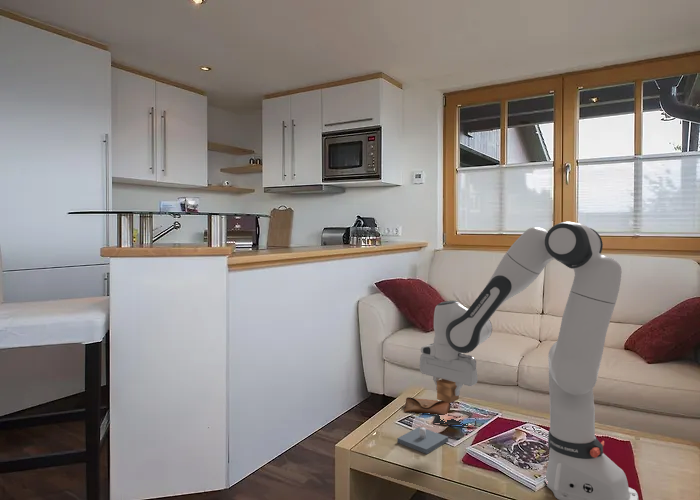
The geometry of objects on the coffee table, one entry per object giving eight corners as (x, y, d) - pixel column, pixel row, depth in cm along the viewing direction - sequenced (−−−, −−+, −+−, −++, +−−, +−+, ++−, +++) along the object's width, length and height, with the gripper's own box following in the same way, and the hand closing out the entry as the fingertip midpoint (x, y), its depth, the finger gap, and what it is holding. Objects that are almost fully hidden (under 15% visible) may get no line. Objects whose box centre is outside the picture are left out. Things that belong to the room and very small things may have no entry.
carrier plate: (448, 441, 158) (448, 428, 158) (426, 454, 149) (426, 440, 149) (419, 430, 166) (419, 418, 166) (397, 442, 158) (397, 429, 158)
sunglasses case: (401, 412, 183) (403, 394, 186) (404, 415, 189) (406, 398, 192) (448, 417, 177) (449, 398, 180) (450, 419, 183) (451, 402, 186)
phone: (436, 413, 179) (476, 417, 174) (436, 416, 179) (477, 420, 174) (432, 422, 172) (475, 426, 167) (432, 425, 172) (475, 429, 167)
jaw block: (458, 398, 154) (458, 380, 153) (450, 403, 150) (450, 384, 150) (445, 395, 157) (445, 377, 157) (437, 399, 154) (436, 381, 153)
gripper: (481, 354, 148) (481, 398, 148) (428, 343, 162) (428, 383, 163) (470, 358, 143) (470, 403, 144) (416, 347, 158) (417, 387, 159)
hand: (447, 392), depth 154 cm, fingers closed on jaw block, 5 cm apart
